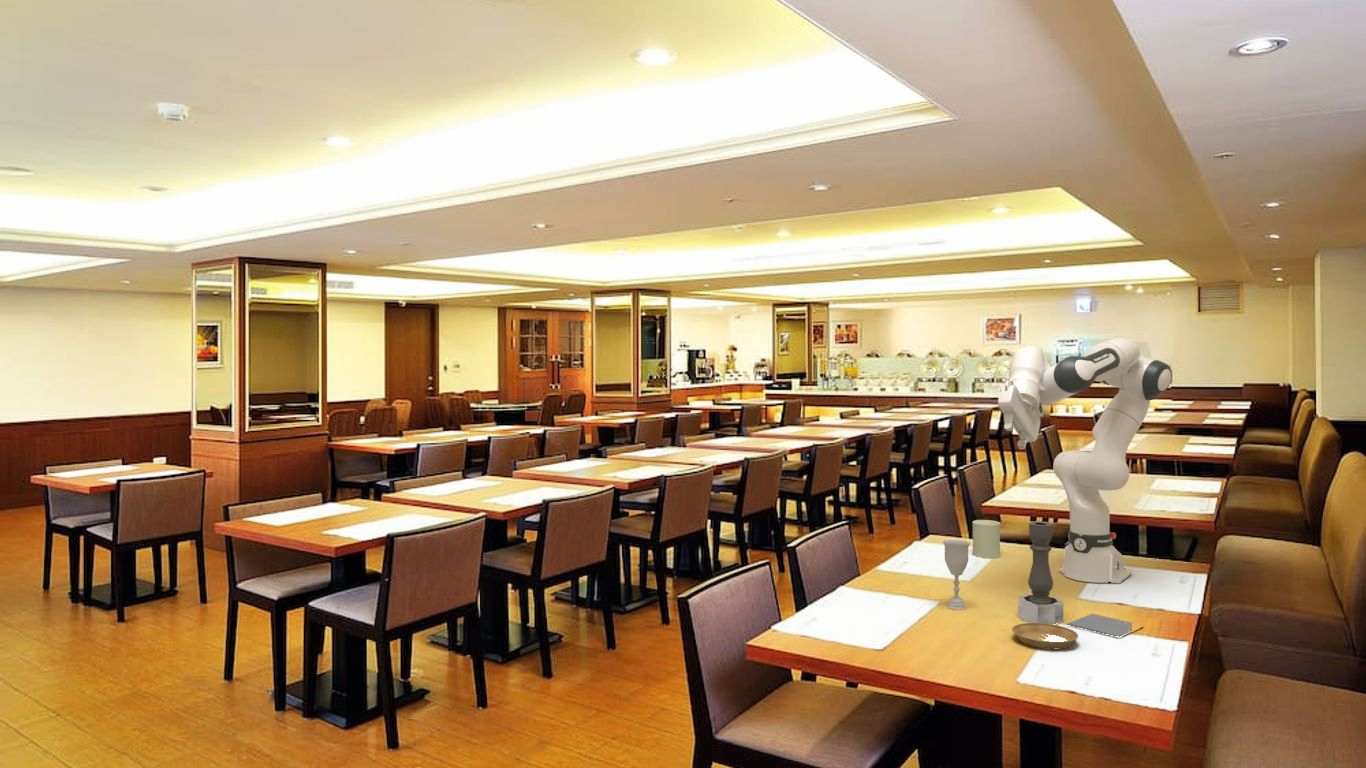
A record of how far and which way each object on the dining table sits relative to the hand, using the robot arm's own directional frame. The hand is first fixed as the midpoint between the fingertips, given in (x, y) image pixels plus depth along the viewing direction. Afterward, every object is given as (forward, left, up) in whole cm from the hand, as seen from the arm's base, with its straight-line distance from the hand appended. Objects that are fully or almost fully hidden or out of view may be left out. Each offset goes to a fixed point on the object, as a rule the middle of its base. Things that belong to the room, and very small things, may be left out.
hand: (1014, 438), depth 230 cm
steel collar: (+3, +9, -46) cm, 47 cm away
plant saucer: (+19, +19, -47) cm, 54 cm away
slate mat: (-3, +23, -46) cm, 52 cm away
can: (-49, -40, -47) cm, 79 cm away
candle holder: (+3, +9, -47) cm, 48 cm away
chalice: (+11, -11, -47) cm, 49 cm away
